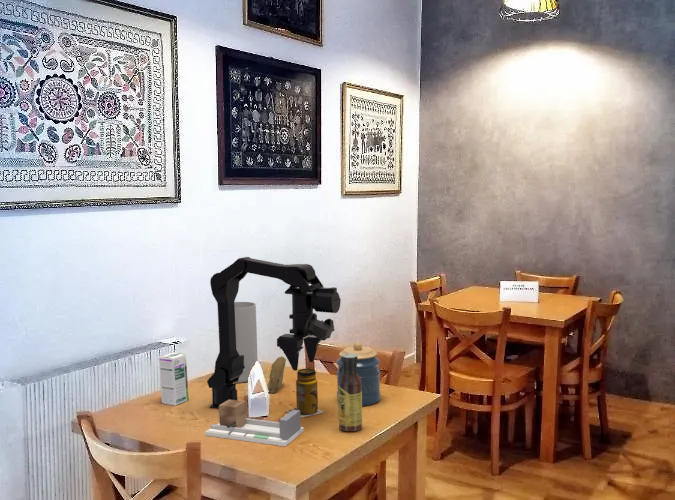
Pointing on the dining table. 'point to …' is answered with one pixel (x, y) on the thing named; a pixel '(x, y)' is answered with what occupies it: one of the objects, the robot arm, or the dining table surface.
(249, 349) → the cylinder vase
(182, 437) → the dining table surface
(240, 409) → the brown cardboard cube
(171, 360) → the syrup box
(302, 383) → the condiment
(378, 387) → the canister
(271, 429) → the gauge base
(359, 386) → the sauce bottle
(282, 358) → the rock
